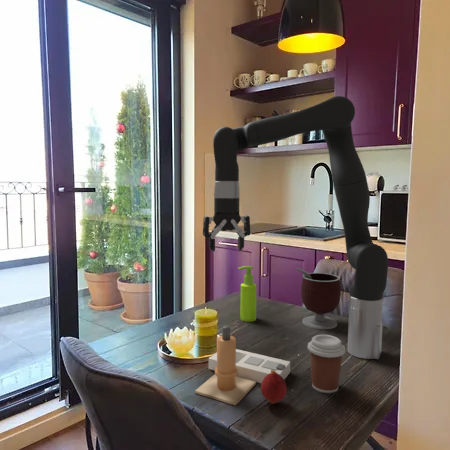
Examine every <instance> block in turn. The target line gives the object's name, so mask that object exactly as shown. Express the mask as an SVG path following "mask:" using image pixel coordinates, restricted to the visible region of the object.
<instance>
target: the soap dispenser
mask: <svg viewBox="0 0 450 450" xmlns="http://www.w3.org/2000/svg"><path fill="white" fill-rule="evenodd" d="M237 269H238V270H241V271H242V270H244V269H245V270H246V273H245V274H244V275H243V283H240V301H239V302H240V303H239V304H240V312H239V313H240V315H239V317H240V321H242V322H248V323H252V322H255V321H257V284H256V283H254V275H253V274H252V269H254V267H253V266H251V265H243V266H241V265H240V266H239V267H237Z"/></svg>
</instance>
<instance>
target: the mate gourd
mask: <svg viewBox="0 0 450 450" xmlns="http://www.w3.org/2000/svg"><path fill="white" fill-rule="evenodd" d="M296 271H299V272H301V273H302V274H303V275H302V279H301V284H300V296H301V298H300V299H301V302H302V304H303V306H304V307H305V308H306V310H308V311H310V312H312V313H314V314H315V315H309V316H305V317H303V318H302V324H303V325H304V326H306V327H308V328H310V329H317V330H331V329H334V328H337V327H338V322H337V320H336V319H334V318H332V317H328V316H325V315H326V314H329V313H333V312H334V311H335V310H336V309H337V308H338V306H339V305H340V301H341V294H342V287H341V280H340V278H341V277H340V276H338V275H336V274H331V273H326V272H307V271H305V270H303V269H301V268H299V267H297V268H296Z"/></svg>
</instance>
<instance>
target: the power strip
mask: <svg viewBox="0 0 450 450" xmlns="http://www.w3.org/2000/svg"><path fill="white" fill-rule="evenodd" d="M216 367H217V352H215V353H214V354H212V355H211V356H210V357H209V358H208V370H211V371H214V372H215V368H216ZM236 367H237V369H238V374H237V375H236V377H240V378H244V379H247V380H251V381H255V382H256V383H258V384H261V383H262V381H263V379H264V377H265V376H266V375H268V374H269V373H271V370H275V372H276V373H277V374H279V375H280V376H281V377H282V378H283V379H284V380H286V378H287V377H288V375H289V374H290V373H291V361H289V360H284V359H280V358H275V357H271V356H268V355H263V354H260V353H254V352H251V351H245V350H243V349H239V348H236Z"/></svg>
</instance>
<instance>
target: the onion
mask: <svg viewBox="0 0 450 450" xmlns="http://www.w3.org/2000/svg"><path fill="white" fill-rule="evenodd" d="M260 391H261V394H262V396H263V398H265V399H266V400H267V401H269V403H270V404H271V405H275V404H278V403H279V402H282V400H284V398H285V397H286V395H287V391H288V388H287V384H286V380H285V379H283V378H282V377H281V376H280V375H279V374H277V373H276V372H275V370H271V373H269V374H268V375H266V376H265V377H264V379H263V381H262V383H260Z"/></svg>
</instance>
